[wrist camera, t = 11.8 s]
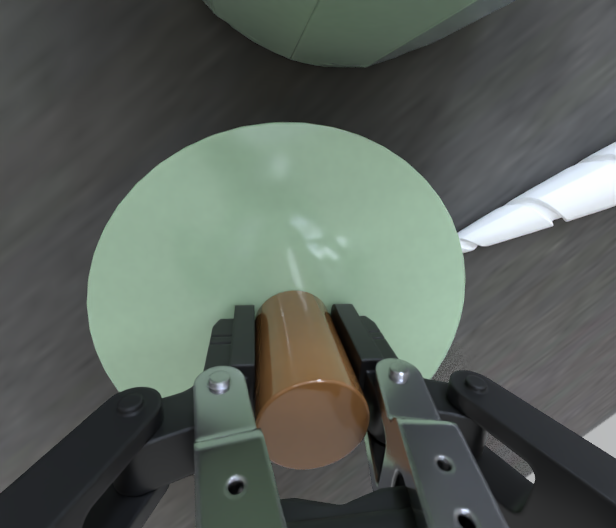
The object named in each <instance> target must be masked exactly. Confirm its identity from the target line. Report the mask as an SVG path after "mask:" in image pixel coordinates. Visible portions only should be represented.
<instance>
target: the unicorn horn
mask: <svg viewBox="0 0 616 528" xmlns="http://www.w3.org/2000/svg"><path fill="white" fill-rule="evenodd" d="M614 206H616V142H614V143H612V144H610V145H609V146H607V147H605V148H603V149H601V150H599V151H597V152H595V153H594V154H592V155H590V156H588V157H587V158H585V159H583V160H581V161H580V162H579V163H577V164H576V165H574V166H571V167H569V168H567V169H565V170H563V171H562V172H560V173H558V174H556V175H555V176H553V177H551V178H549V179H547V180H546V181H544V182H542V183H540V184H539V185H537V186H535V187H533V188H532V189H530V190H528V191H526V192H525V193H523V194H521V195H520V196H518V197H516V198H514V199H513V200H511V201H509V202H508V203H507V204H505V205H504V206H502V207H500V208H497V209H496V210H494V211H492V212H490V213H489V214H487V215H485V216H484V217H482V218H480V219H479V220H477V221H476V222H474V223H472V224H471V225H469V226H467V227H466V228H464V229H463V230H461V231H459V232H458V233H457V234H458V236H459V240H460V244H461V249H462V253H465V252H469V251H473V250H474V249H476V247H477V245H480V246H490V245H493V244H497V243H500V242H503V241H507V240H510V239H513V238H517V237H520V236H523V235H526V234H530V233H533V232H536V231H539V230H542V229H545V228H549V227H552V226H553V223H552V221H553V220H555V219H559V218H563V220H564V221H566V222H568V221H571V220H574V219H577V218H580V217H583V216H586V215H589V214H593V213H596V212H599V211H602V210H605V209H608V208H611V207H614Z"/></svg>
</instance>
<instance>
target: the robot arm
mask: <svg viewBox="0 0 616 528" xmlns="http://www.w3.org/2000/svg"><path fill="white" fill-rule="evenodd" d="M331 319H332V321H333V323H334V326H335V328H336V330H337V333H338V335H339V337H340V340H341V342H342V344H343V347H344V349H345V351H346V354H347V356H348V358H349V361H350V363H351V365H352V368H353V370H354V372H355V375H356V377H357V379H358V382H359V384H360V386H361V389H362V391H363V394H364V396H365V398H366V401H367V403H368V406H369V409H370V423H369V427H368V430H367V433H366V435H365V437H364V439H365V445H366V452H367V458H368V464H369V470H370V477H371V483H372V489H373V492H371V493H369V494H367V495H365V496H362V497H360V498H358V499H355V500H353V501H351V502H349V503H346V504H343V505H336V504H330V503H323V502H317V501H310V500H304V499H297V498H290V499H282V500H280V497H279V493H278V489H277V485H276V482H275V478H274V474H273V470H272V466H271V462H270V458H269V454H268V450H267V446H266V442H265V438H264V435H263V432H262V429H261V428H257V427H256V423H255V418H254V392H255V311H254V305H235V311H234V318H231V319H220V320H219V321H218V322H217V323H216V324H215V325H214V326H213V328H212V333H211V337H210V342H209V347H208V352H207V356H206V361H205V366H204V370H203V372H202V373H200V374H199V375H198V376H197V377H196V379H195V381H194V384H193V386H192V387H191V388H189V389H187V390H185V391H183V392H181V393H178V394H175V395H171V396H168V397H164V398H162V397H161V395H160V393H159V392H158V391H157V390H155V389H153V388H150V387H134V388H130V389H126V390H124V391H121V392H119V393H117V394H115V395H114V396H112V397H111V398H110V399H108V400H107V401H106V402H105V403H104V404H103V405H101V406H100V407H99V408H98V409H97V410H96V411H94V412H93V413H92V414H91V415H90V416H89V417H88V418H86V419H85V420H84V421H83V422H82V423H81V424H80V425H78V426H77V427H76V428H75V429H74V430H73V431H72V432H70V433H69V434H68V435H67V436H66V437H65V438H64V439H62V440H61V441H60V442H59V443H58V444H57V445H55V446H54V447H53V448H52V449H51V450H50V451H49V452H47V453H46V454H45V455H44V456H43V457H42V458H41V459H39V460H38V461H37V462H36V463H35V464H34V465H33V466H31V467H30V468H29V469H28V470H27V471H26V472H25V473H23V474H22V475H21V476H20V477H19V478H18V479H17V480H15V481H14V482H13V483H12V484H11V485H10V486H8V487H7V488H6V489H5V490H4V491H3V492H2V493H0V528H142V526H143V525H144V524H145V522H146V521H147V519H148V518H149V516H150V515H151V513H152V512H153V510H154V509H155V507H156V506H157V504H158V503H159V501H160V500H161V498H162V497H163V495H164V494H165V492H166V491H167V489H168V487H169V484H170V483H173V482H175V481H178V480H180V479H183V478H185V477H188V476H190V475H193V474H194V478H195V520H196V528H616V458H614V457H612V456H611V455H609V454H608V453H606V452H604V451H603V450H601V449H600V448H598V447H596V446H595V445H593V444H592V443H590V442H589V441H587V440H585V439H584V438H582V437H581V436H579V435H577V434H576V433H574V432H573V431H571V430H569V429H568V428H566V427H565V426H563V425H562V424H560V423H558V422H557V421H555V420H554V419H552V418H550V417H549V416H547V415H546V414H544V413H542V412H541V411H539V410H538V409H536V408H534V407H533V406H531V405H530V404H528V403H527V402H525V401H523V400H522V399H520V398H519V397H517V396H515V395H514V394H512V393H511V392H509V391H507V390H506V389H504V388H503V387H501V386H499V385H498V384H496V383H495V382H493V381H492V380H490V379H488V378H487V377H485V376H483V375H481V374H478V373H475V372H472V371H464V370H462V371H456V372H454V373H452V375H451V376H450V380H449V383H446V382H441V381H435V380H430V379H425V378H423V377H422V374H421V373H420V371H419V370H418V369H417V368H416V367H415V366H414V365H412V364H411V363H409V362H407V361H404V360H401V359H398V357H397V356H396V354H395V353H394V351H393V350H392V348H391V347H390V345H389V343H388V342H387V340H386V339H384V336H383V334H382V333H381V332H380V330H379V328H378V327H377V325H376V323H375V322H373V321H372V320H371V319H369V318H368V317H366V316H359V314H358V313H357V311H356V309H355V308H354V306H353V304H333V305H332V309H331ZM489 433H490V434H491V435H492V436H494V437H495V438H496V439H498V440H499V441H500V442H502V443H503V444H504V445H505V446H507V447H508V448H509V449H511V450H512V451H513V452H515V453H516V454H517V455H519V456H520V457H521V458H523V459H524V460H525V461H526V462H527V463H528V464H529V465H530V466H531V468H532V470H533V472H534V474H535V483H534V484H533V483H531V482H530V481H529V480H527V479H526V478H525V477H524V476H523V475H521V474H520V473H519V472H518V471H516V470H515V469H514V468H513V467H511V466H510V465H509V464H508V463H506V462H505V461H504V460H503V459H501V458H500V457H499V456H498V455H496V454H495V453H494V452H493V451H491V450H490V449H489V448H488V447H486V446H485V444H486V441H487V438H488V435H489Z"/></svg>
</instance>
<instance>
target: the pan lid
mask: <svg viewBox="0 0 616 528" xmlns="http://www.w3.org/2000/svg"><path fill="white" fill-rule="evenodd" d="M464 294H465V268H464V258H463V253H462V249H461V244H460V240H459V236H458V234H457V231H456V229H455V226H454V224H453V221H452V218H451V216H450V214H449V213H448V211H447V209H446V207H445V206H444V204H443V202H442V200H441V199H440V197H439V196H438V194H437V193H436V192H435V191H434V189H433V188H432V187H431V186H430V184H429V183H428V182H427V181H426V179H425V178H424V177H423V176H422V175H420V174H419V173H418V172H417V171H416V170H415V169H414V168H413V167H412V166H411V165H410V164H409V163H407V162H406V161H405V160H403V159H402V158H400V157H399V156H397V155H396V154H395V153H393V152H392V151H390V150H389V149H387V148H386V147H384V146H382V145H380V144H378V143H376V142H373V141H371V140H369V139H367V138H365V137H363V136H361V135H358V134H355V133H351V132H348V131H345V130H342V129H338V128H335V127H331V126H324V125H318V124H311V123H305V122H270V123H263V124H255V125H248V126H242V127H238V128H235V129H231V130H228V131H224V132H221V133H217V134H214V135H211V136H209V137H207V138H204V139H202V140H200V141H198V142H196V143H193V144H191V145H189V146H187V147H184V148H183V149H181V150H180V151H178V152H177V153H175V154H173V155H172V156H170V157H169V158H167V159H166V160H164V161H163V162H161V163H159V164H158V165H157V166H156V167H155V168H153V169H152V170H151V171H150V172H149V173H148V174H147V175H145V176H144V177H143V178H142V179H141V180H140V181H139V182H137V183H136V184H135V186H134V187H133V188H132V189H131V190H130V192H129V193H128V194H127V195H126V196H125V198H124V199H123V200H122V201H121V202H120V204H119V205H118V206H117V208H116V209H115V211H114V213H113V214H112V216H111V218H110V219H109V221H108V223H107V224H106V226H105V228H104V229H103V232H102V234H101V237H100V239H99V242H98V244H97V247H96V249H95V252H94V254H93V259H92V263H91V268H90V273H89V277H88V289H87V311H88V320H89V329H90V332H91V336H92V339H93V343H94V346H95V350H96V352H97V355H98V357H99V359H100V361H101V363H102V365H103V368H104V370H105V372H106V373H107V375H108V376H109V378H110V379H111V381H112V382H113V384H114V386H115V387H116V389H117V390H118V391H119V392H121V391H124V390H126V389H130V388H134V387H150V388H153V389H155V390H157V391H158V392H159V393H160V395H161V397H162V398H164V397H168V396H171V395H175V394H178V393H181V392H183V391H185V390H187V389H189V388H191V387H192V386H193V384H194V381H195V379H196V377H197V376H198V375H199V374H200V373H202V372H203V370H204V366H205V361H206V356H207V352H208V347H209V342H210V337H211V333H212V328H213V326H214V325H215V324H216V323H217V322H218V321H219V320H220V319H231V318H234V311H235V305H254V311H255V392H254V418H255V423H256V427H257V428H261V429H262V432H263V435H264V438H265V442H266V446H267V450H268V454H269V458H270V461H272V462H273V463H275V464H277V465H280V466H282V467H286V468H290V469H301V470H305V469H315V468H320V467H324V466H327V465H330V464H332V463H335V462H337V461H339V460H341V459H342V458H344V457H345V456H347V455H348V454H350V453H351V452H352V451H353V450H354V449H355V448H356V447H357V446H358V445H359V444H360V443H361V441H362V440H363V438H364V437H365V435H366V433H367V430H368V427H369V423H370V409H369V406H368V403H367V401H366V398H365V396H364V394H363V391H362V389H361V386H360V384H359V382H358V379H357V377H356V375H355V372H354V370H353V368H352V365H351V363H350V361H349V358H348V356H347V354H346V351H345V349H344V347H343V344H342V342H341V340H340V337H339V335H338V333H337V330H336V328H335V326H334V323H333V321H332V319H331V309H332V305H333V304H353V306H354V308H355V309H356V311H357V313H358V314H359V316H366V317H368V318H369V319H371V320H372V321H373V322H375V323H376V325H377V327H378V328H379V330H380V332H381V333H382V334H383V336H384V339H386V340H387V342H388V343H389V345H390V347H391V348H392V350H393V351H394V353H395V354H396V356H397V357H398V359H401V360H404V361H407V362H409V363H411V364H412V365H414V366H415V367H416V368H417V369H418V370H419V371H420V373H421V374H422V377H423V378H425V379H431V378H432V376H433V375H434V374H435V372H436V371H437V369H438V368H439V366H440V364H441V363H442V361H443V360H444V358H445V356H446V354H447V352H448V350H449V348H450V346H451V344H452V342H453V339H454V337H455V334H456V331H457V328H458V325H459V322H460V318H461V313H462V308H463V303H464Z"/></svg>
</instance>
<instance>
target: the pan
mask: <svg viewBox="0 0 616 528" xmlns="http://www.w3.org/2000/svg"><path fill="white" fill-rule="evenodd" d="M203 1H204V2H205V4H206V5H207V6H208V7H209V8H210V9H211V11H212V12H213V13H214V14H215V15H216V16H218V17H219V18H221V19H223V20H224V21H225V22H226V23H228V24H229V25H230V26H231V27H233V28H234V29H236V30H237V31H238V32H240V33H241V34H243V35H244V36H246V37H247V38H249V39H250V40H252V41H253V42H255V43H257V44H259V45H261V46H263V47H265V48H266V49H268V50H270V51H272V52H274V53H276V54H279V55H281V56H284V57H286V58H288V59H291V60H295V61H299V62H302V63H308V64H313V65H318V66H324V67H360V68H364V67H369V66H372V65H374V64H377V63H380V62H382V61H386V60H389V59H393V58H396V57H398V56H400V55H402V54H404V53H407V52H410V51H412V50H415V49H418V48H420V47H423V46H426V45H429V44H431V43H434V42H436V41H438V40H440V39H441V38H443V37H445V36H447V35H449V34H451V33H453V32H455V31H457V30H459V29H461V28H463V27H465V26H467V25H469V24H471V23H473V22H475V21H477V20H478V19H480V18H482V17H484V16H486V15H488V14H490V13H492V12H494V11H496V10H498V9H500V8H502V7H504V6H506V5H508V4H510V3H512V2H514V1H515V0H203Z"/></svg>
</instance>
